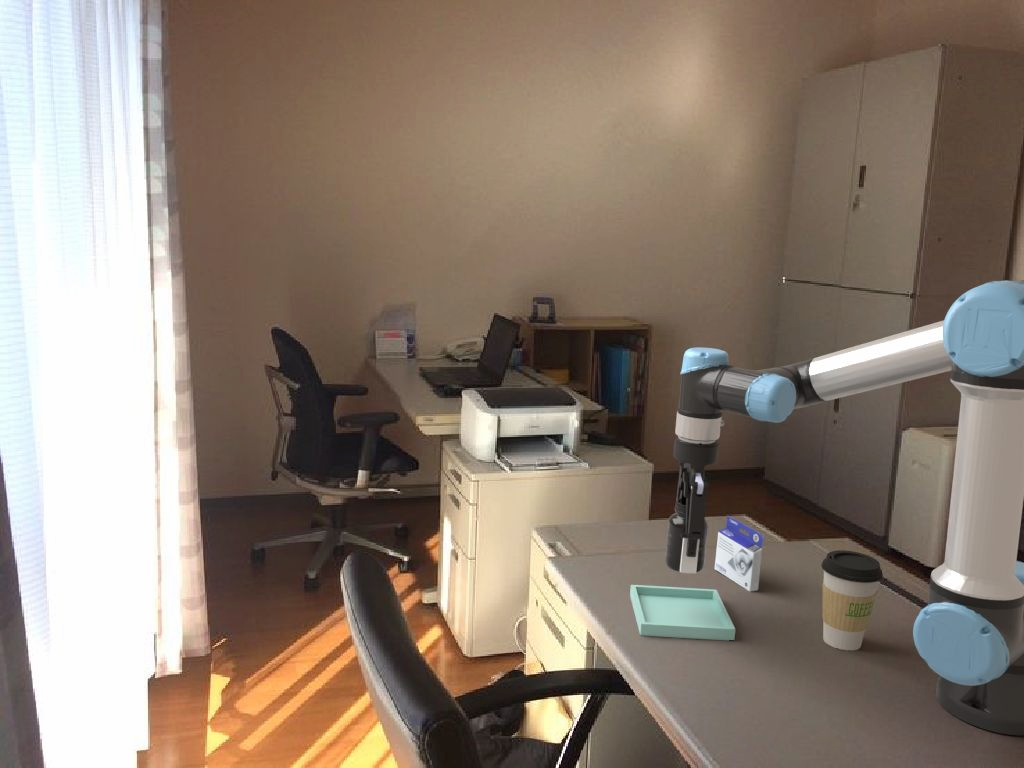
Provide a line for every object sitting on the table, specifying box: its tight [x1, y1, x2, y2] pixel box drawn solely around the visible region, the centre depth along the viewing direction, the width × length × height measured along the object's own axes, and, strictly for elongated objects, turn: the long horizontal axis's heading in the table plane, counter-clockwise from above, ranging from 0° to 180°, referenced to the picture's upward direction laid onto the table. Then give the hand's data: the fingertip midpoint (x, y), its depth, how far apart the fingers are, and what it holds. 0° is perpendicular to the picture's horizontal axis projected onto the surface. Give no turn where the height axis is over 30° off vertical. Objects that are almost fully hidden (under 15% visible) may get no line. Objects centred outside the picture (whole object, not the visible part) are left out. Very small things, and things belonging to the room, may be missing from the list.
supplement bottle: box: [664, 498, 709, 573], centre depth 160 cm, size 7×7×12 cm
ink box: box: [713, 515, 766, 593], centre depth 179 cm, size 12×2×12 cm, turn 25°
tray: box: [629, 584, 736, 641], centre depth 163 cm, size 16×16×2 cm
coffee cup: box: [820, 549, 884, 651], centre depth 155 cm, size 10×10×15 cm
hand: (684, 563), depth 161 cm, fingers closed on supplement bottle, 7 cm apart
